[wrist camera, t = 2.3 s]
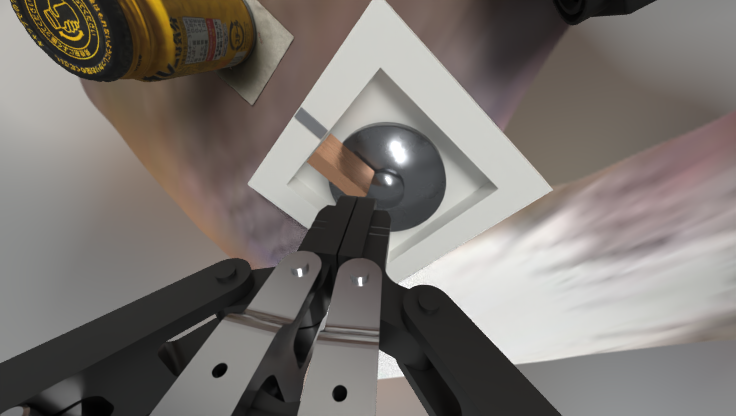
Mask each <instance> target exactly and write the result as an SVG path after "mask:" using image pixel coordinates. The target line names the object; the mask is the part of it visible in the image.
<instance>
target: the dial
mask: <svg viewBox="0 0 736 416" xmlns="http://www.w3.org/2000/svg"><path fill="white" fill-rule="evenodd" d="M307 163H308V164H310V165H311V166H312V167H313V168H314V169H316V170H317V171H318V172H319V173H321V174H322V175H323V176H324V177H326V178H327V179H328V180H329V187H330V191H331V194H332V196H333V199H334V200H335V202H336V203H337V201H338V199H339V197H340V195H351V196H358V197H359V196H362V197H372V198H377V208H376V210H382V211H388V213H389V215H390V217H391V230H390V232H397V231H404V230H408V229H411V228H414V227H416V226H418V225H420V224H422V223H423V222H425V221H426V220H428V219H429V218H430V217H431V216H432V215H433V214H434V213H435V212H436V210H437V209H438V208H439V206H440V204H441V202H442V200H443V198H444V195H445V190H446V174H445V168H444V163H443V160H442V157H441V155H440V153H439V151H438V149H437V148H436V146H435V145H434V144H433V142H432V141H431V140H430V139H429V138H428V137H427V136H425V135H424V134H423V133H421V132H420V131H418V130H417V129H414V128H412V127H410V126H407V125H404V124H401V123H395V122H377V123H373V124H369V125H366V126H363V127H361V128H359V129H357V130H355V131H354V132H353V133H351V134H350V135H349V136H348V137H347V138H346V139H345V140H344V141H343V142H342V143H341V142H340V141H339V140H338V139H337V138H336V137H335V136H333V135H332V134H331V133H330V134H329V136H328V137H327V138H326V139H325V140H324V141H323V143H322V144H321V145H320V146H319V147H318V148H317V149H316V151H315V152H314V153H313V154H312V156H311V157H310V158H309V159H308V161H307Z"/></svg>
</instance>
